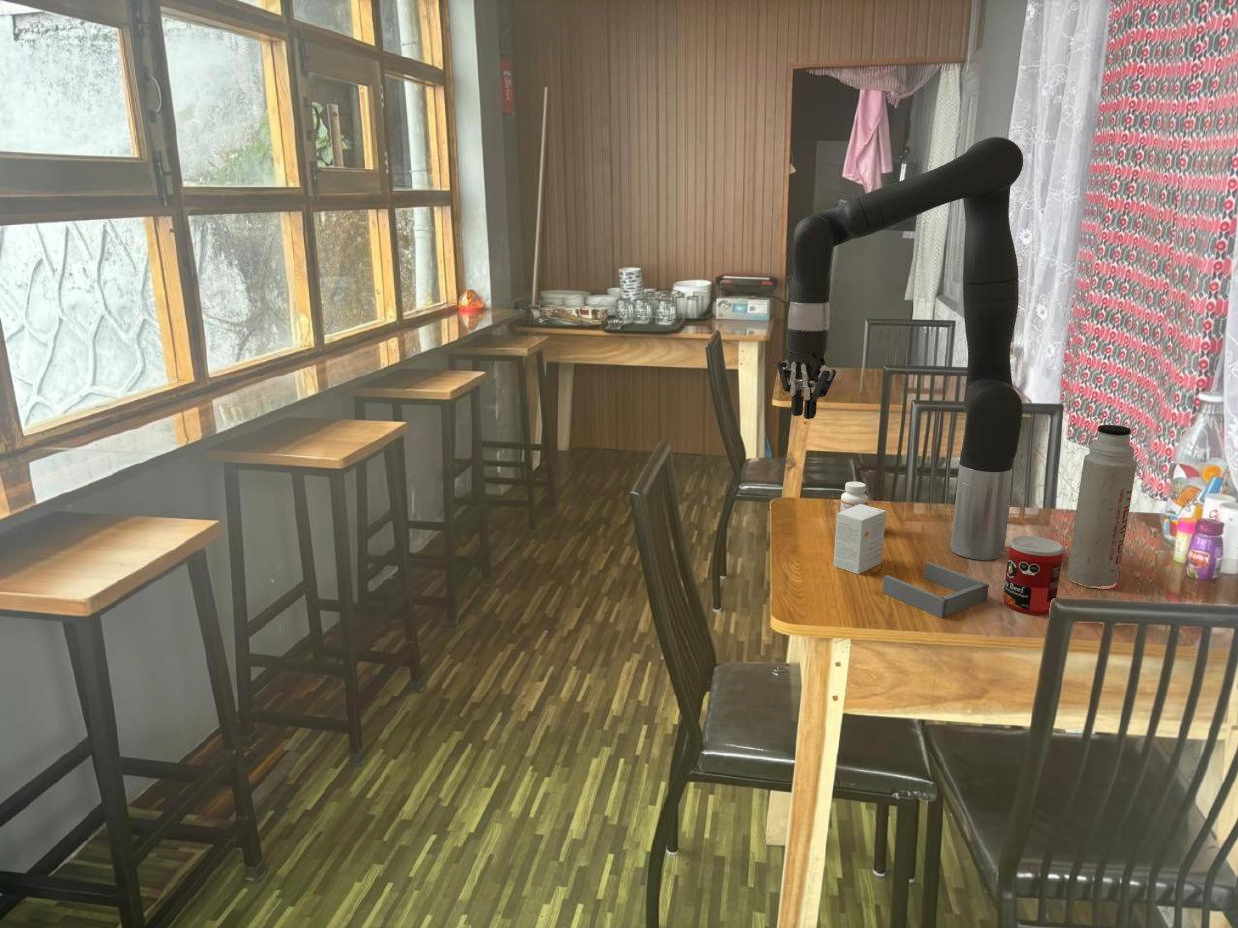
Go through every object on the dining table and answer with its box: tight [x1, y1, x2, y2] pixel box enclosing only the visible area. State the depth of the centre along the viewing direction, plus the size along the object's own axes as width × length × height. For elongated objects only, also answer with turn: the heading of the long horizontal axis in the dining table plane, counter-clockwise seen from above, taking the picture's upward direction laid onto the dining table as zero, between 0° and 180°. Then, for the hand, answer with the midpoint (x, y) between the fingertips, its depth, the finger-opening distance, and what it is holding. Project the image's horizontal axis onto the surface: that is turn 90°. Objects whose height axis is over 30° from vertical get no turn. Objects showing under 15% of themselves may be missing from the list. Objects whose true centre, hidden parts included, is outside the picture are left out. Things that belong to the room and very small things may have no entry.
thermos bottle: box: [1066, 424, 1138, 587], centre depth 156 cm, size 8×8×28 cm
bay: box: [881, 561, 990, 619], centre depth 153 cm, size 12×12×3 cm
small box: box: [833, 504, 887, 575], centre depth 165 cm, size 8×6×10 cm
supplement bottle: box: [839, 481, 869, 512], centre depth 184 cm, size 5×5×10 cm
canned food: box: [1002, 535, 1064, 616], centre depth 148 cm, size 8×8×11 cm
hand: (803, 416), depth 173 cm, fingers open, 2 cm apart
